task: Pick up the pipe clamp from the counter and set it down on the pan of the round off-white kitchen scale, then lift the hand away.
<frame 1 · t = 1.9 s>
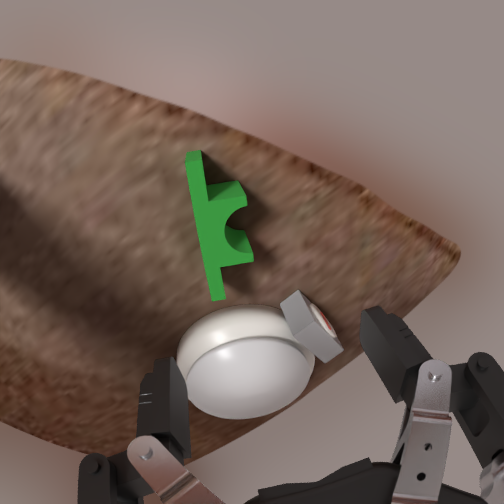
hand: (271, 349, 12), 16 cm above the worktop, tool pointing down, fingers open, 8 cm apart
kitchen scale: (243, 356, 34), on the worktop
pipe clamp: (218, 213, 26), on the worktop
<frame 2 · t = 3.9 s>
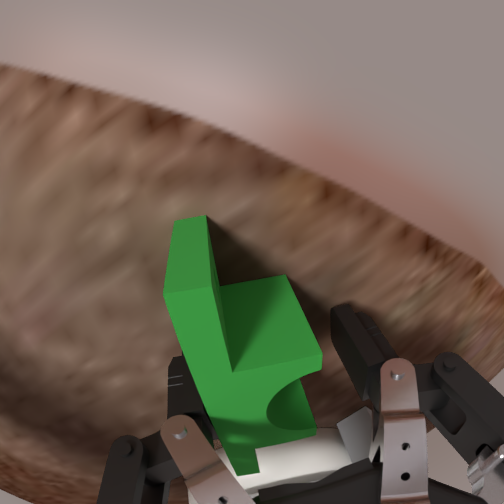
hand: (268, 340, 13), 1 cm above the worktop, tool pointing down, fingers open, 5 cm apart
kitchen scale: (276, 470, 22), on the worktop
pipe clamp: (243, 330, 14), on the worktop, touching gripper
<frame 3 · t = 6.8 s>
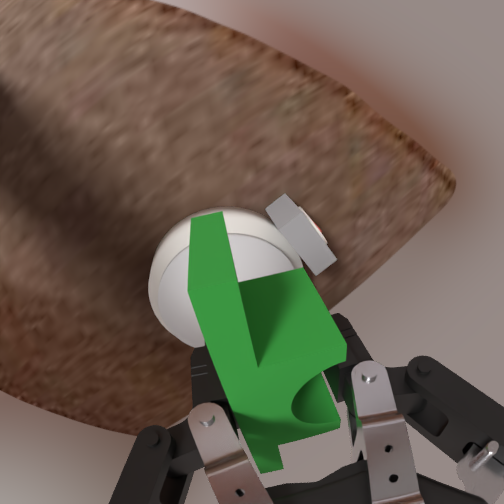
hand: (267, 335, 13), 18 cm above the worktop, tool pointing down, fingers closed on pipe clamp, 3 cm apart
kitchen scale: (224, 276, 32), on the worktop
pipe clamp: (263, 326, 14), point 17 cm above the worktop, touching gripper
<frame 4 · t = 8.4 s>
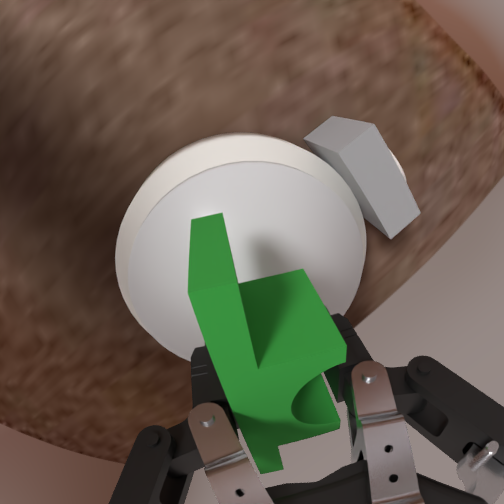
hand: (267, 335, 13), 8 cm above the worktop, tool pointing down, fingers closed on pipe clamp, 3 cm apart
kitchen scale: (240, 248, 20), on the worktop
pipe clamp: (263, 327, 14), point 8 cm above the worktop, touching gripper
when the fingers open (6 cm above the worktop, at t = 9.6 s): pipe clamp stays where it is, resting on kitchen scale.
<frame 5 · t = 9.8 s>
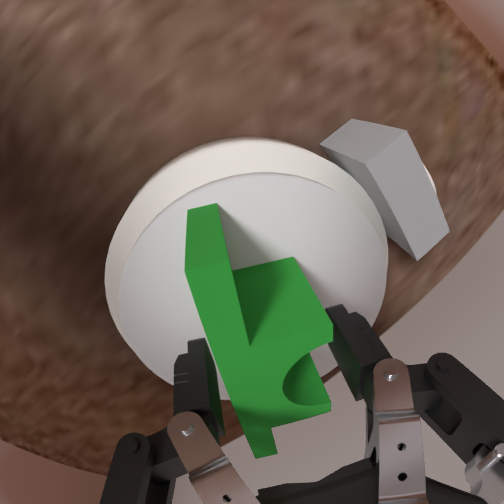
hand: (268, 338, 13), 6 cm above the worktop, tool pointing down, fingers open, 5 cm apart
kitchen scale: (246, 268, 18), on the worktop
pipe clamp: (256, 313, 14), point 4 cm above the worktop, touching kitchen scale
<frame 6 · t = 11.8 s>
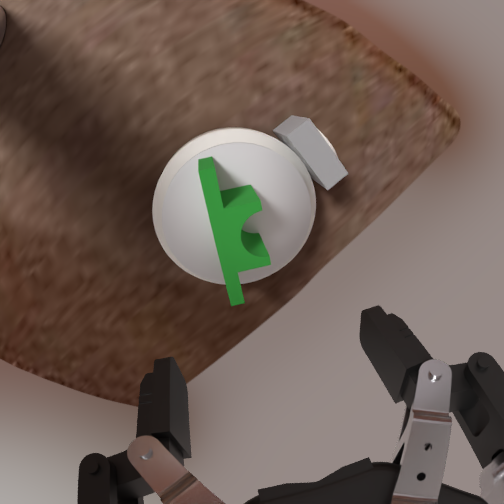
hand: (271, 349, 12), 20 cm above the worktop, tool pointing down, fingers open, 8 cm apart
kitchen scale: (232, 203, 31), on the worktop
pipe clamp: (232, 218, 27), point 4 cm above the worktop, touching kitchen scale
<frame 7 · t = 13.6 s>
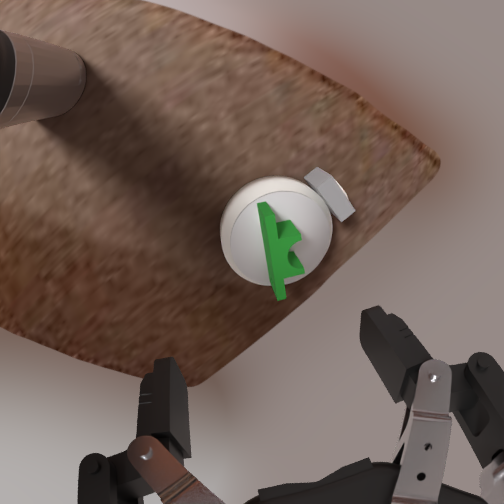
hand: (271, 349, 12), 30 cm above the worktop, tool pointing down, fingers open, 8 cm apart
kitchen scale: (274, 228, 43), on the worktop
pipe clamp: (276, 241, 40), point 4 cm above the worktop, touching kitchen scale
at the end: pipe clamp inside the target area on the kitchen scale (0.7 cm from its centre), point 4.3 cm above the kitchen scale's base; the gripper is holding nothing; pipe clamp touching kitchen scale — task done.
